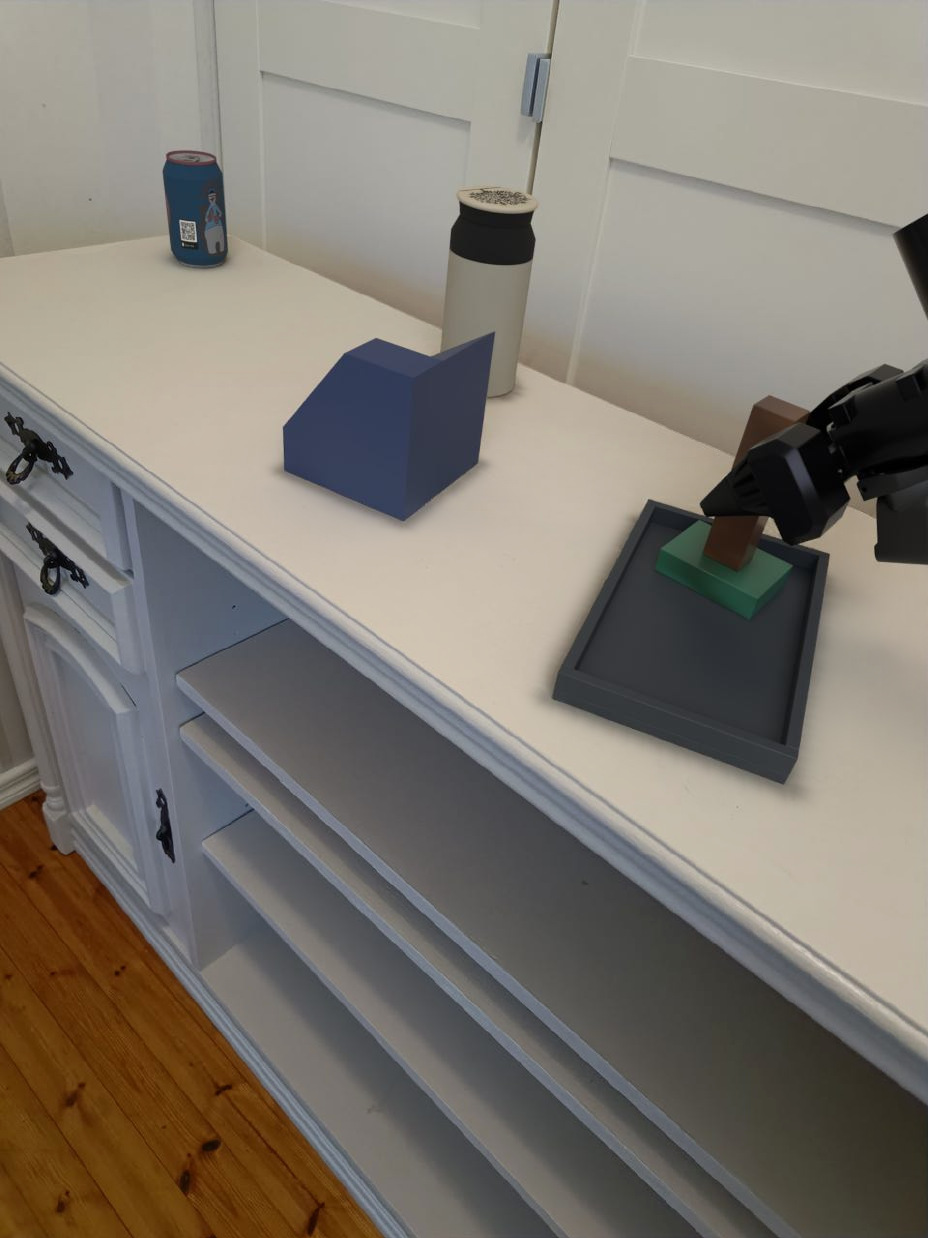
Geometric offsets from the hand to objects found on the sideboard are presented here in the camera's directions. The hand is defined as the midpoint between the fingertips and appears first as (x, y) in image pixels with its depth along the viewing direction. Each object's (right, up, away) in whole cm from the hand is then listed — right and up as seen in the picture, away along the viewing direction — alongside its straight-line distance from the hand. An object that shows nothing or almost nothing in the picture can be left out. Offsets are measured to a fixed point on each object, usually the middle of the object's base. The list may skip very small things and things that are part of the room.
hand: (731, 488), depth 60 cm
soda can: (-53, +36, +48) cm, 80 cm away
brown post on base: (0, -6, +4) cm, 7 cm away
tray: (-2, -10, 0) cm, 10 cm away
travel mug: (-18, +15, +28) cm, 37 cm away
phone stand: (-26, +4, +13) cm, 29 cm away
